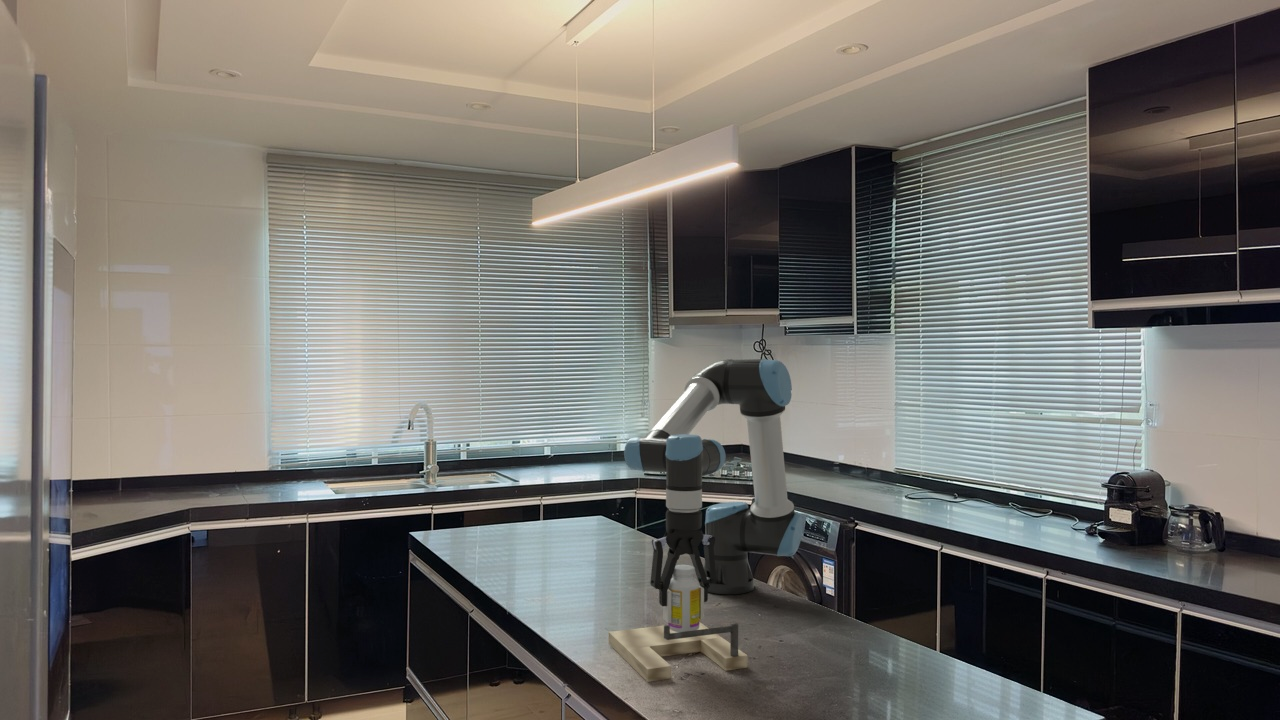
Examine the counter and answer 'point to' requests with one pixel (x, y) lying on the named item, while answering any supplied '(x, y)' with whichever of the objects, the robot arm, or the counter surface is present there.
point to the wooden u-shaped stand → (676, 648)
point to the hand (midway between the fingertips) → (683, 619)
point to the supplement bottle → (684, 599)
